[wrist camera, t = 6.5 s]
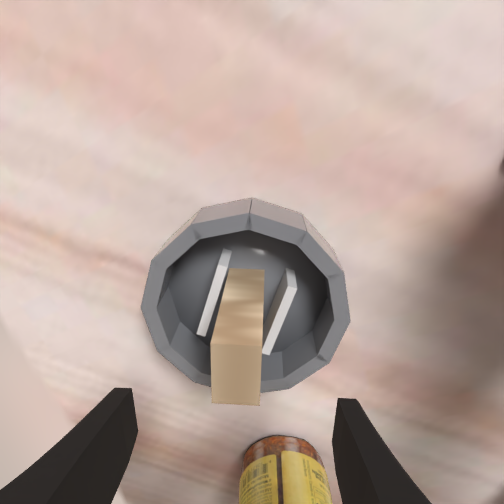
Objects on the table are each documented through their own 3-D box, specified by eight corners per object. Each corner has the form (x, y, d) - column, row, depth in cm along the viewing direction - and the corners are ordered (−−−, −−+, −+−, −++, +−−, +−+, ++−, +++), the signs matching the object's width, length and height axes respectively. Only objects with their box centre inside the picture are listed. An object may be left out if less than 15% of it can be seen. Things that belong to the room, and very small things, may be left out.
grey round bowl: (367, 234, 20) (383, 255, 17) (299, 377, 24) (304, 413, 21) (183, 174, 19) (168, 186, 16) (145, 332, 23) (128, 363, 20)
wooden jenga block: (264, 269, 20) (262, 346, 14) (262, 315, 21) (259, 405, 15) (229, 267, 20) (210, 343, 14) (229, 313, 21) (211, 403, 15)
